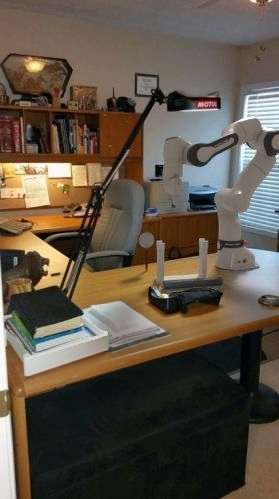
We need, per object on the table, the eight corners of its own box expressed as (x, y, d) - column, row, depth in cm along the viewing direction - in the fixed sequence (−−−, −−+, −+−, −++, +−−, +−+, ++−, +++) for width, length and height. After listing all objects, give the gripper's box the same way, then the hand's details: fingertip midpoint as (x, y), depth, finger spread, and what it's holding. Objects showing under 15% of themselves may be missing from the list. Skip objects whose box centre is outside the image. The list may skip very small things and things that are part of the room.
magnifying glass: (154, 269, 202) (154, 230, 198) (155, 270, 201) (155, 231, 196) (137, 271, 201) (137, 231, 196) (138, 271, 199) (138, 232, 194)
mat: (217, 282, 182) (217, 280, 182) (225, 289, 173) (225, 288, 173) (161, 285, 178) (161, 284, 178) (166, 293, 168) (166, 292, 168)
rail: (220, 283, 179) (220, 276, 178) (222, 285, 176) (222, 278, 175) (162, 287, 175) (162, 280, 174) (164, 289, 172) (164, 282, 171)
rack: (204, 276, 190) (205, 238, 186) (208, 280, 185) (210, 241, 180) (154, 279, 186) (154, 240, 182) (157, 283, 181) (157, 243, 176)
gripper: (186, 174, 174) (185, 206, 177) (174, 172, 193) (173, 200, 197) (171, 174, 173) (171, 206, 176) (161, 172, 192) (161, 201, 196)
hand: (172, 203), depth 187 cm, fingers open, 8 cm apart
